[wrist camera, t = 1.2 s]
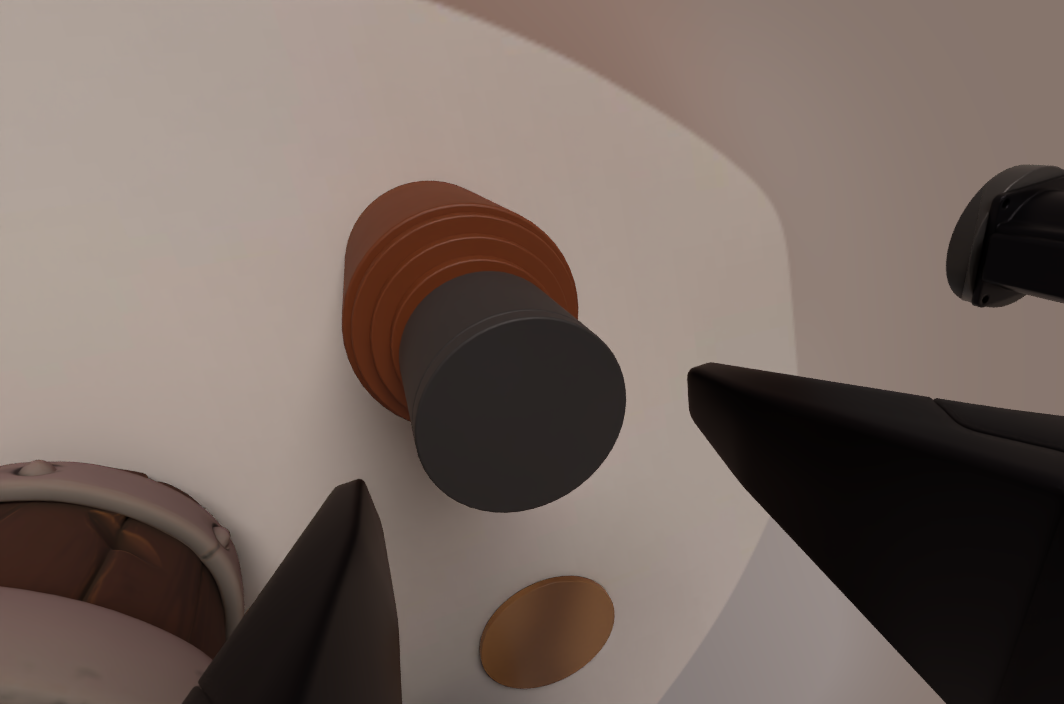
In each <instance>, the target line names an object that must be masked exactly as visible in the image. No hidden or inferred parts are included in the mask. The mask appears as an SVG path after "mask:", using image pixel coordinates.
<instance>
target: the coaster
mask: <svg viewBox="0 0 1064 704" xmlns="http://www.w3.org/2000/svg"><path fill="white" fill-rule="evenodd" d="M613 624H614V607H613V603H612V601H611V599H610V597H609V595H608V593H607V592H606V591H605V589H604V588H603V587H602V586H600V585H599V584H598V583H596V582H594V581H592V580H590V579H587V578H584V577H579V576H560V577H554V578H549V579H545V580H543V581H540V582H537V583H534V584H532V585H530V586H528V587H526V588H524V589H522V590H521V591H519V592H517V593H516V594H515V595H513V596H512V597H510V598H509V599H508V600H507V601H506V602H504V603H503V604H502V605H501V606H500V607H499V608H498V609H497V610H496V612H495V613H494V614H493V615H492V617H491V618H490V620H489V621H488V623H487V625H486V627H485V629H484V631H483V634H482V637H481V641H480V656H481V661H482V665H483V667H484V669H485V671H486V672H487V674H488V675H489V676H490V677H491V678H492V679H493V680H494V681H496V682H498V683H499V684H502V685H504V686H508V687H512V688H520V689H523V688H536V687H541V686H545V685H549V684H552V683H555V682H557V681H560V680H562V679H564V678H566V677H568V676H570V675H571V674H573V673H575V672H576V671H578V670H579V669H581V668H582V667H584V666H585V665H586V664H587V663H588V662H589V661H591V660H592V659H593V658H594V657H595V656H596V655H597V653H598V652H599V651H600V650H601V649H602V647H603V646H604V644H605V643H606V641H607V639H608V637H609V636H610V633H611V631H612V628H613Z"/></svg>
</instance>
